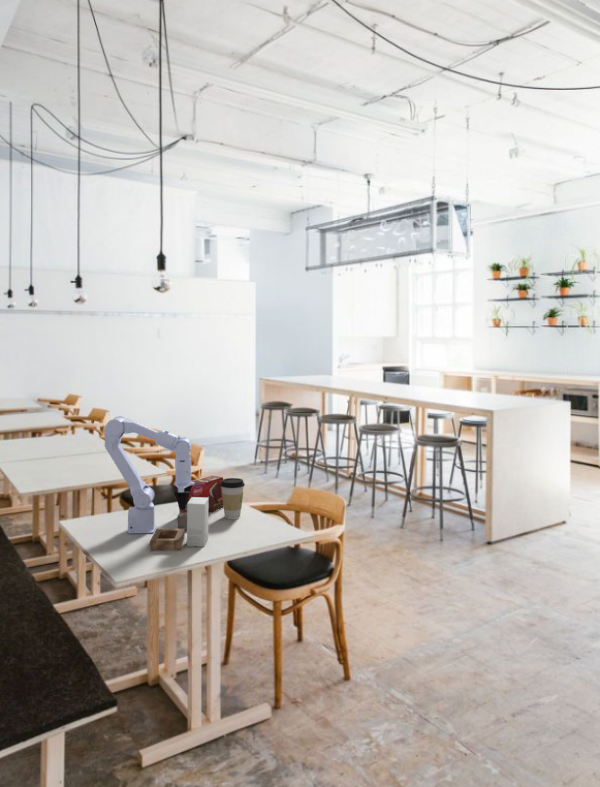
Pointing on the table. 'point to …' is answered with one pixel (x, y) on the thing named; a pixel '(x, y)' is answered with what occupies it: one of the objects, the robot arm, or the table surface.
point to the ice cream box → (207, 492)
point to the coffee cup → (232, 497)
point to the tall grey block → (182, 521)
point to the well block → (167, 539)
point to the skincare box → (197, 521)
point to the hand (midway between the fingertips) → (183, 506)
